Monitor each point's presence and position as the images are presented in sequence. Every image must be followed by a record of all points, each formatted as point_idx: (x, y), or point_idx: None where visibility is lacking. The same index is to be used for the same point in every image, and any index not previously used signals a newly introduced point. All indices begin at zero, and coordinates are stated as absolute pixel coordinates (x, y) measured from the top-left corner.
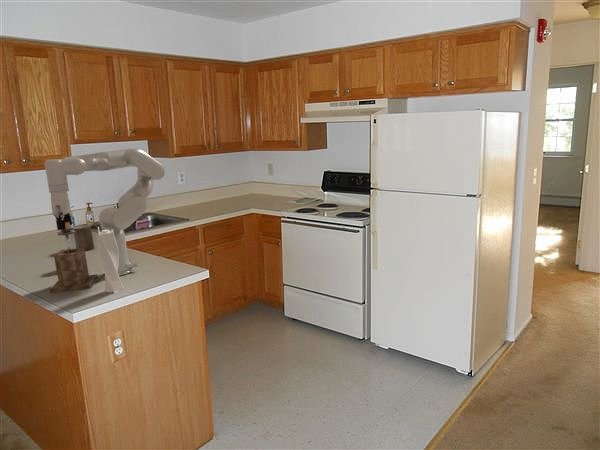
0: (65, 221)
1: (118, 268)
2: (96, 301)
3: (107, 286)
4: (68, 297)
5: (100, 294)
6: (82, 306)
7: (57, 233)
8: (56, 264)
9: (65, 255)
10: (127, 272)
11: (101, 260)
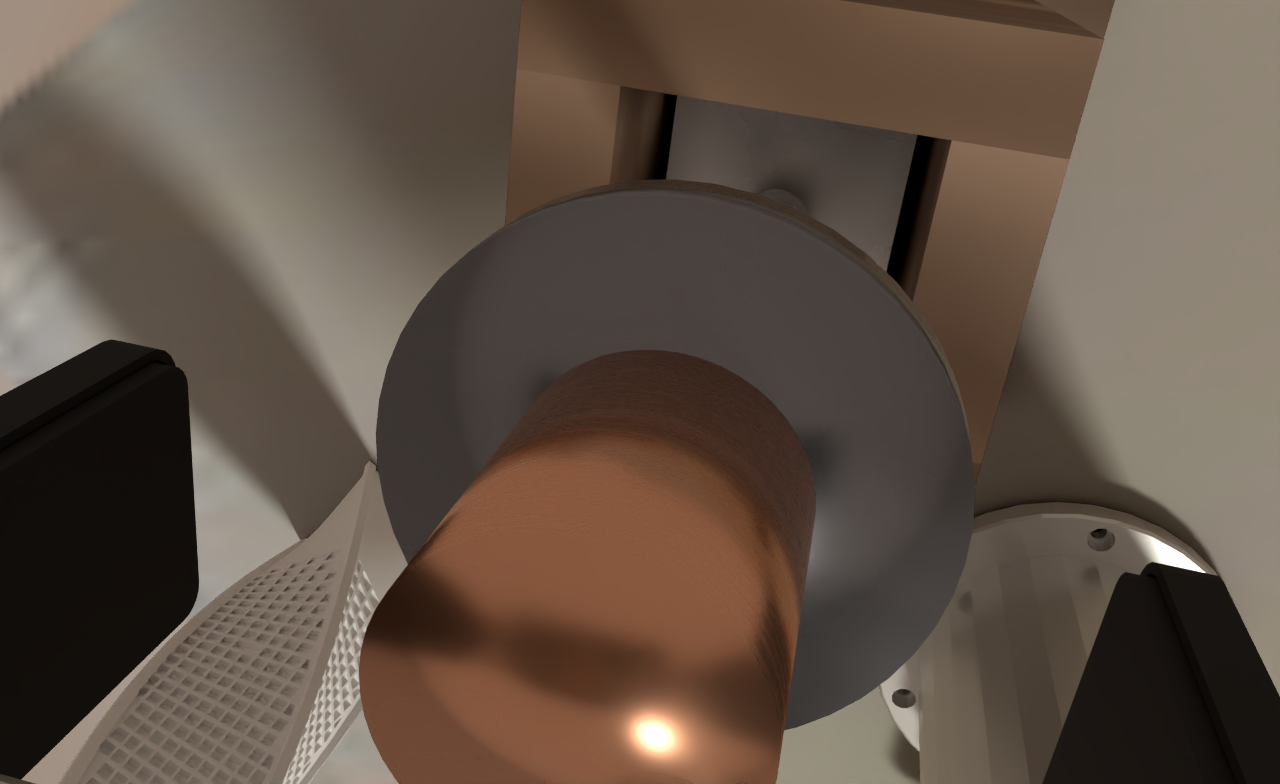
0: (1129, 753)
1: (919, 692)
2: None
3: (338, 518)
4: (332, 96)
5: (309, 419)
6: (30, 261)
7: (567, 202)
8: None
9: (513, 200)
10: (903, 728)
11: (130, 696)
